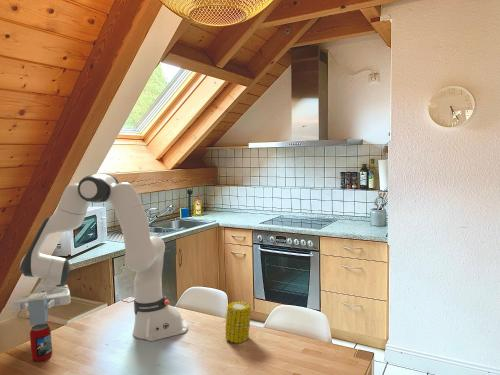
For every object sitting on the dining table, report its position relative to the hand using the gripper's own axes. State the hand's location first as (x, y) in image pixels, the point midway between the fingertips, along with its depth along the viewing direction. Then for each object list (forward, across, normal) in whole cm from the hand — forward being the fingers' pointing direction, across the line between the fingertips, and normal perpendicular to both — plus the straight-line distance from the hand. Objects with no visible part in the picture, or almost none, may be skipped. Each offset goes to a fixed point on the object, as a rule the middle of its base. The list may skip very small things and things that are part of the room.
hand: (37, 308), depth 146 cm
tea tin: (-1, 0, +6) cm, 6 cm away
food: (+10, +72, +20) cm, 76 cm away
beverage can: (-1, 0, +20) cm, 20 cm away
